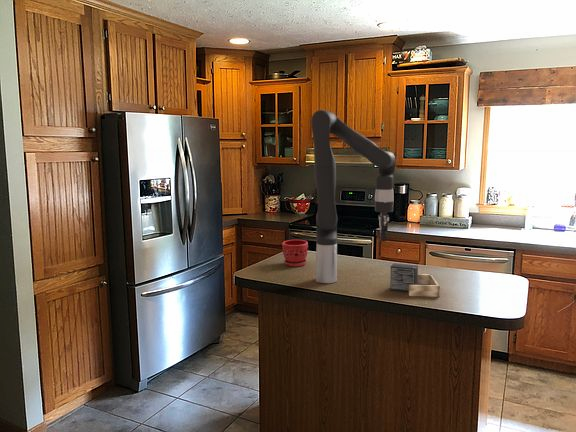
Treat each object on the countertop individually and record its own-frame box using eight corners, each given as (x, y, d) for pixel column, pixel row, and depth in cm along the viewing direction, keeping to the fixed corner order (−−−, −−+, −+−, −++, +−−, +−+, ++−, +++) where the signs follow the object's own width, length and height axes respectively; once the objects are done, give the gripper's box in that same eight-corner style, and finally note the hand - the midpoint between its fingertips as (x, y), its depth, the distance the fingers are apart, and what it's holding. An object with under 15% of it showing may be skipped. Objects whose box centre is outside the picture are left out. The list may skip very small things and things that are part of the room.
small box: (417, 288, 198) (418, 264, 196) (415, 293, 192) (416, 268, 190) (393, 285, 202) (393, 262, 200) (389, 290, 196) (390, 265, 195)
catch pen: (409, 295, 188) (409, 285, 187) (403, 283, 205) (403, 273, 205) (439, 296, 187) (439, 286, 186) (431, 284, 204) (431, 274, 203)
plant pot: (281, 262, 245) (281, 239, 244) (306, 261, 247) (305, 239, 245) (283, 268, 233) (283, 244, 231) (309, 267, 234) (309, 244, 232)
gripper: (373, 198, 199) (373, 238, 202) (376, 201, 186) (375, 244, 189) (391, 198, 198) (390, 238, 201) (395, 202, 185) (394, 244, 188)
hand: (383, 241), depth 195 cm, fingers closed
